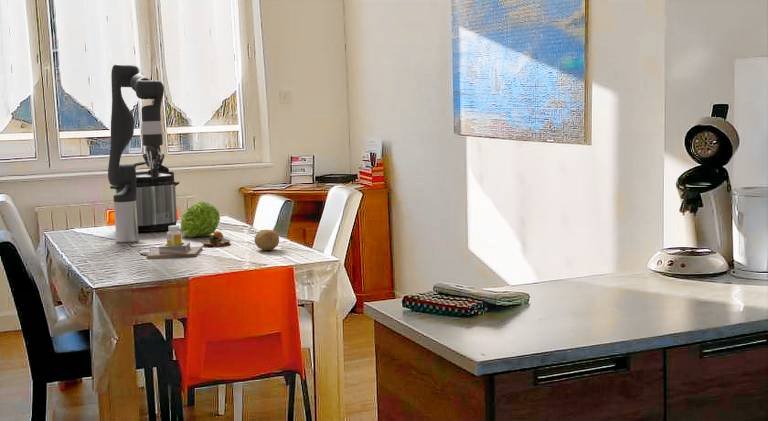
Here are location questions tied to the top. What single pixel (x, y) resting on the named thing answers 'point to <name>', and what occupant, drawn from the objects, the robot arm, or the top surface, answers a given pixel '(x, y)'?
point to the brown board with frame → (174, 251)
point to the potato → (267, 239)
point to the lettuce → (200, 220)
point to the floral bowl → (216, 240)
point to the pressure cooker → (154, 199)
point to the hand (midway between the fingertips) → (154, 178)
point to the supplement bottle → (173, 236)
